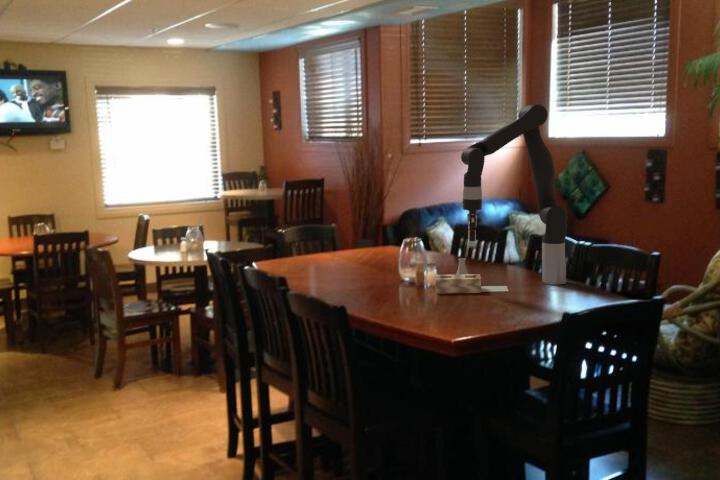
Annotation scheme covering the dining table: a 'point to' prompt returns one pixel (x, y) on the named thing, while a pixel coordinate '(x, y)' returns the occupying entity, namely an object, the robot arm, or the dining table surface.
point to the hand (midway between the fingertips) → (472, 240)
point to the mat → (493, 288)
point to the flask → (462, 266)
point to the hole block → (458, 283)
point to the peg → (471, 243)
